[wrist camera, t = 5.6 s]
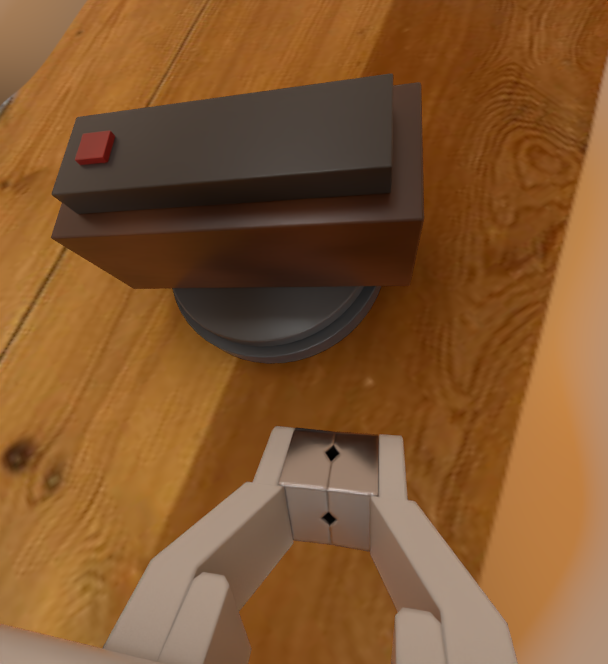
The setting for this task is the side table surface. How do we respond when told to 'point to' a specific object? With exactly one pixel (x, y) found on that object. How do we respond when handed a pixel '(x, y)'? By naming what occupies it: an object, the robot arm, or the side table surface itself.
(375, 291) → the turntable base
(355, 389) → the side table surface
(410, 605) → the robot arm
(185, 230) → the remote caddy
